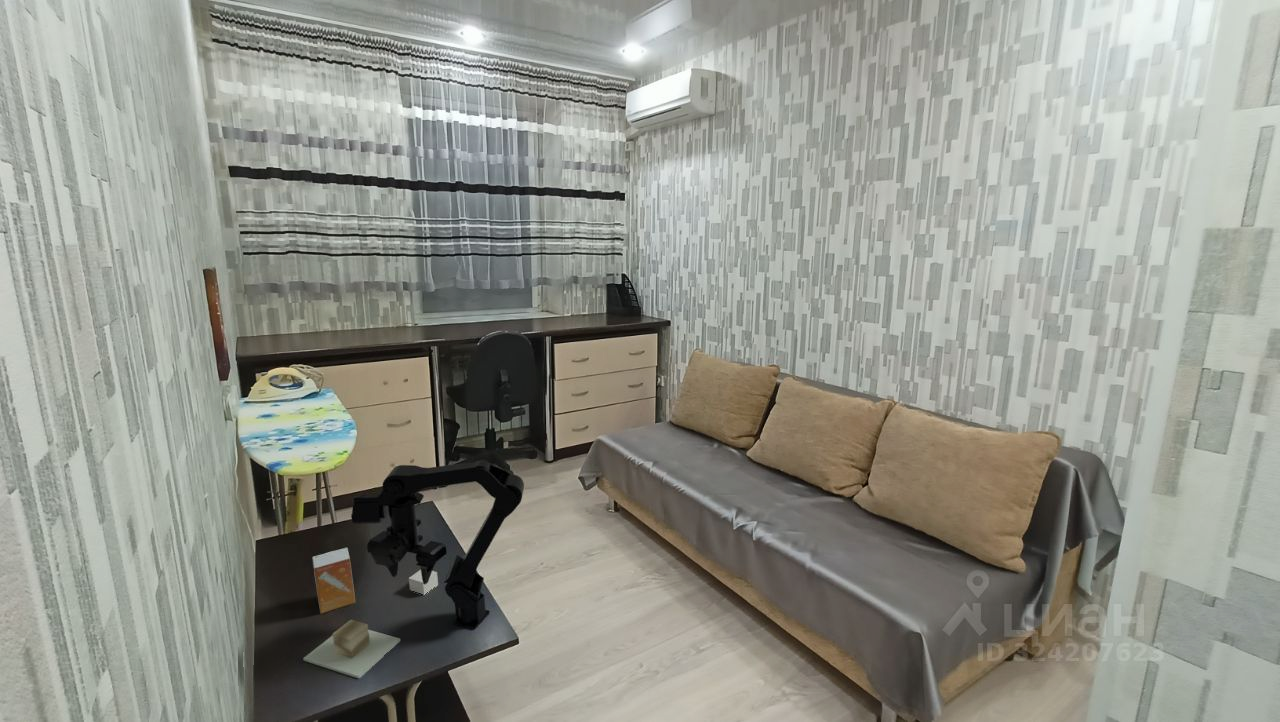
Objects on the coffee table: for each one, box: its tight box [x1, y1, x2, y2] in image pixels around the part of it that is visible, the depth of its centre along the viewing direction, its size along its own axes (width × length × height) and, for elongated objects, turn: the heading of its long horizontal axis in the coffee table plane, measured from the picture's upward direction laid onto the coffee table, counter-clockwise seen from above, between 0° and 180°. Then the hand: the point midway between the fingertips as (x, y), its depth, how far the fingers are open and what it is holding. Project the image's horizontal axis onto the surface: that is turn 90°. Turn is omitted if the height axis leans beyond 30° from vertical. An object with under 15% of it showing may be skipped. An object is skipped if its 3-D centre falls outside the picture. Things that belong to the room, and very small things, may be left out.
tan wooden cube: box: [332, 619, 370, 658], centre depth 126 cm, size 5×5×5 cm
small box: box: [311, 547, 356, 614], centre depth 142 cm, size 8×6×13 cm
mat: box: [303, 629, 401, 679], centre depth 126 cm, size 16×12×1 cm
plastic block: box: [408, 569, 439, 596], centre depth 148 cm, size 5×5×4 cm
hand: (410, 579), depth 132 cm, fingers open, 9 cm apart
